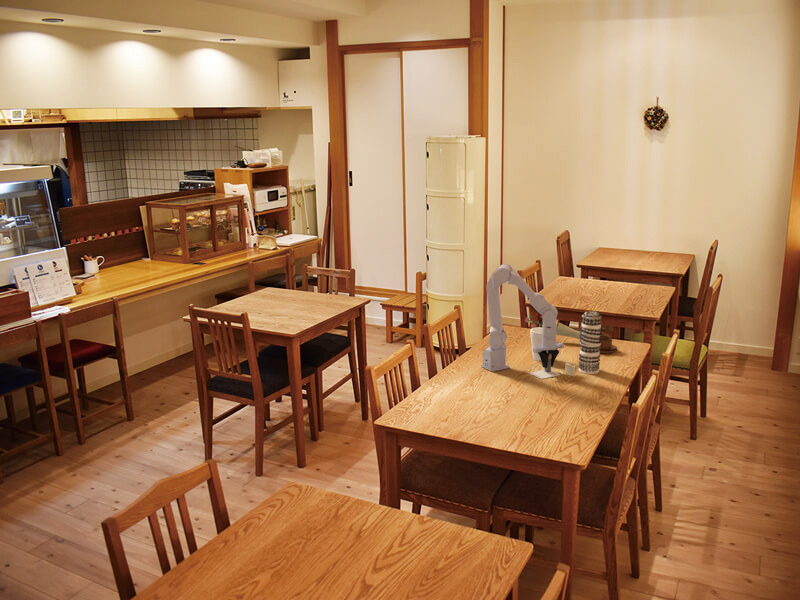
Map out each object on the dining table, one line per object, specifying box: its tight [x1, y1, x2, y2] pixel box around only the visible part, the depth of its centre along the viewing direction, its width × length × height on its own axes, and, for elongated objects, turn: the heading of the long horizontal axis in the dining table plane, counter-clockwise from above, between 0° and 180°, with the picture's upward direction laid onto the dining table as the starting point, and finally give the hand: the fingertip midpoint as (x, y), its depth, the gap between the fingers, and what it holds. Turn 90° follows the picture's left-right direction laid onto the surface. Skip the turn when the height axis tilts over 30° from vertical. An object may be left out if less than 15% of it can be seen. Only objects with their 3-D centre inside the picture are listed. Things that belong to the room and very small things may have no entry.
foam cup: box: [529, 327, 548, 362], centre depth 312 cm, size 10×9×13 cm
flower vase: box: [524, 312, 582, 340], centre depth 337 cm, size 12×12×35 cm
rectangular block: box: [564, 362, 576, 377], centre depth 293 cm, size 5×1×4 cm, turn 27°
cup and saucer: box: [599, 335, 618, 354], centre depth 323 cm, size 12×12×6 cm
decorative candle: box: [578, 310, 603, 375], centre depth 295 cm, size 9×9×25 cm
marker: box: [544, 354, 552, 372], centre depth 296 cm, size 3×3×7 cm
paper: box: [528, 369, 561, 380], centre depth 294 cm, size 10×8×1 cm
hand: (547, 366), depth 296 cm, fingers closed on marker, 3 cm apart
